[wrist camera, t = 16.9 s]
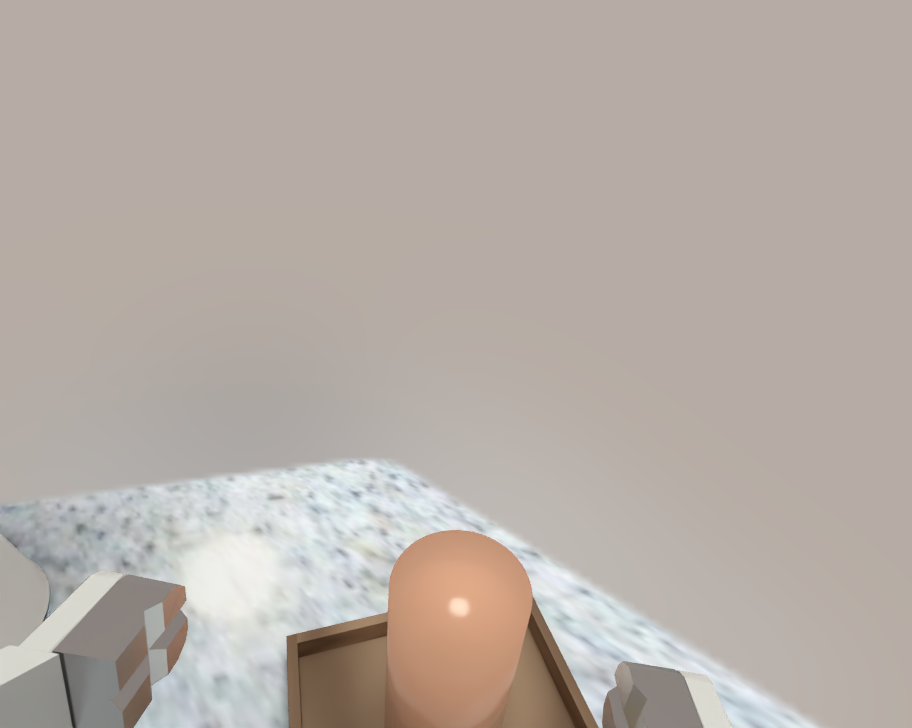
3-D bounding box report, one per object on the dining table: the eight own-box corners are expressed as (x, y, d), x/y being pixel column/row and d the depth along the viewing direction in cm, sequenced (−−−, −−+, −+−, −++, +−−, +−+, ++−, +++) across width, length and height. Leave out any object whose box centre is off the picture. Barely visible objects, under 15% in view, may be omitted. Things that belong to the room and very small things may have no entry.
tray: (299, 963, 21) (295, 944, 19) (289, 660, 31) (286, 636, 30) (623, 823, 26) (635, 801, 24) (519, 603, 36) (524, 580, 35)
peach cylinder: (396, 815, 24) (406, 677, 19) (375, 682, 30) (377, 543, 24) (515, 772, 26) (558, 635, 20) (475, 655, 32) (500, 520, 26)
